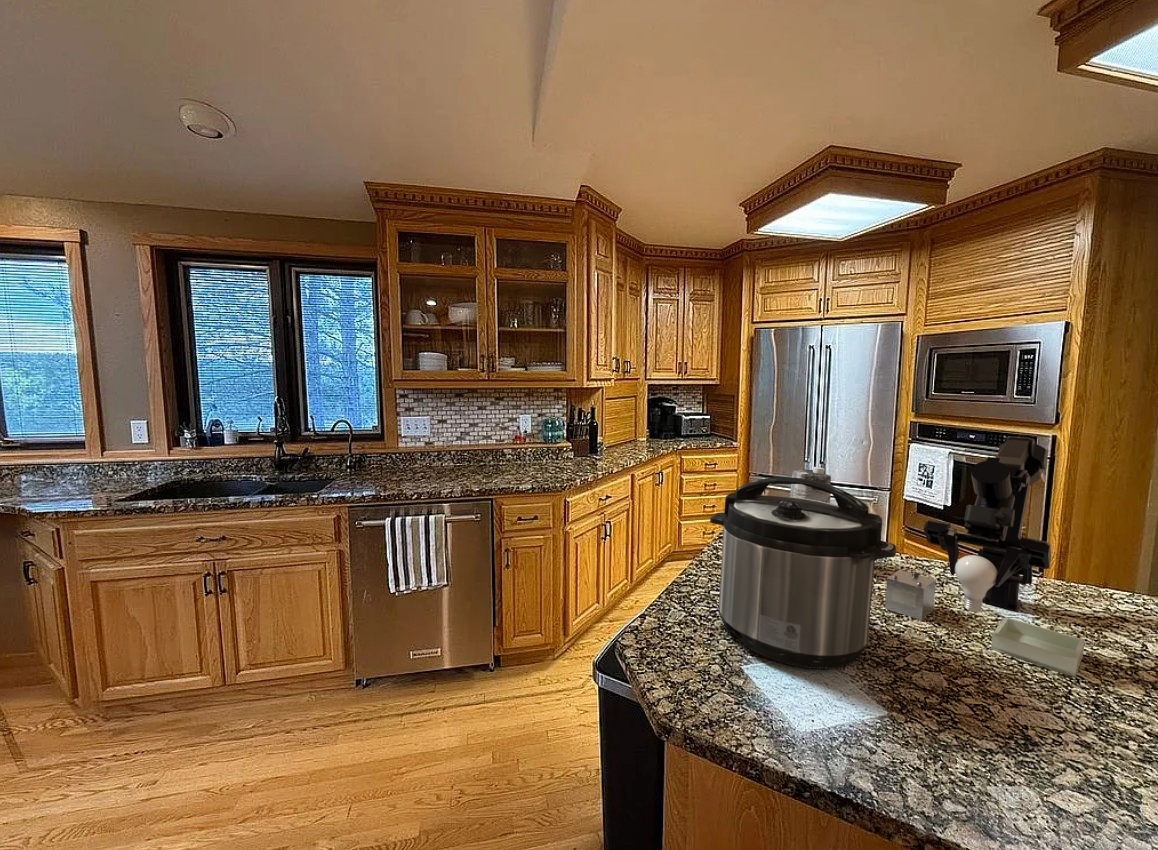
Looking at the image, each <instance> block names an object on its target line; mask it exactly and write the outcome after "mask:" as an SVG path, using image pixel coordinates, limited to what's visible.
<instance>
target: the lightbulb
mask: <svg viewBox="0 0 1158 850" xmlns="http://www.w3.org/2000/svg"><path fill="white" fill-rule="evenodd" d="M997 574H998V572H997V569H996V567H995V566H994V565H993V564H992V563H991V562H990V561H989V560H987V559H986V558H983V557H981V556H978V554H977V555H976V554H971V555H969V554H968V555H965V556H961V558H958V561H957V563H956V565H955V574H954V575H955V576H956V579H957V580H958V582H959V583H960V584H961V586H962V593H963V594H964V595H963V596H964V597H963V598H964V599H963V601H964V602H963V607H964V608H965V609H966V610H968V611H969V612H970V613H977V612H982V608H983V607H982V606H983V602H982V600H983V598H984V597H985V594H986V592H987V591H988V590H989V589H990V588H991V587H992V586H994V585H995V582H996V577H997Z"/></svg>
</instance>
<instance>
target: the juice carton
mask: <svg viewBox="0 0 1158 850" xmlns="http://www.w3.org/2000/svg"><path fill="white" fill-rule="evenodd" d="M791 473H792V474H791V477H793V478H802V479H808V480H813V481H818V482H822V483H825V484H828V485H831V486H832V477H831V475H829V474H826V473H825V468H824V467H817V466H813V468H812V469H807V468H806V469H805V468H804V469H802V468H801V469H799V468H798V469H796V468H794V469H792V472H791ZM831 495H832V494H830V493H827V492H824V491H821V490H818V489H815V488H811V487H808V486H805V485H802V484H790V495H789V497H796V498H804V499H811V500H816V501H821V502H826V503H831Z"/></svg>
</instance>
